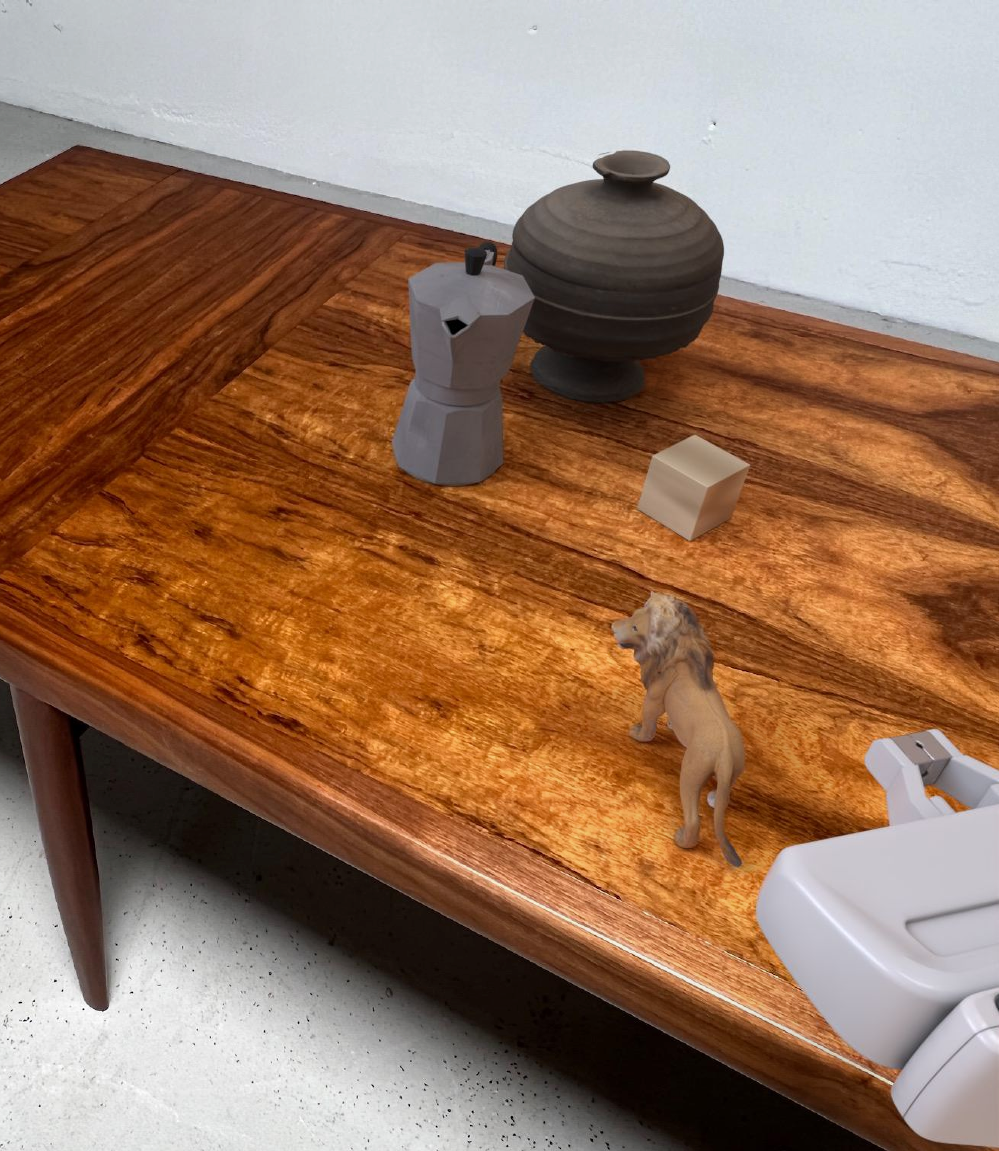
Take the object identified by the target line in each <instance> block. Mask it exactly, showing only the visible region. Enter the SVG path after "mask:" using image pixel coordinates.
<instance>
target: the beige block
mask: <svg viewBox="0 0 999 1151" xmlns="http://www.w3.org/2000/svg"><path fill="white" fill-rule="evenodd" d="M750 467H751V464H750V463H748V462H746V461H744V460H743V459H741V458H739V457H737V456H735V455H733V454H731V453H730V452H728V451H726V450H724V449H723V448H721V447H718V445H717V446H716V445H715V444H713V443H711V442H710V441H708V440H706V439H704V438H702V437H700V436H698V435H697V434H693V435H691V436H689V437H687V438H685V439H683V440H681V441H679V442H676V443H675V444H673V445H671V446H669V447H667V448H665V449H663V450H661V451H659V452H657V453H655V454H653V455H651V458H650V462H649V465H648V470H647V473H646V477H645V480H644V482H643V483H644V484H643V487H642V491H641V493H640V497H639V501H638V504H637V507H636V509H637V510H638V511H640V512H641V513H643V514H645V515H647V516H648V517H650V518H651V519H653V520H655V521H656V522H658V523H660V524H661V525H663V526H665V527H666V528H668V529H669V530H670V531H672V532H674V533H676V534H677V535H678V536H681V537H682V538H684V539H685V540H687V541H689V542H691V541H693V540H695V539H697V538H699V537H700V536H703V535H704V534H706V533H707V532H709V531H711V530H713V529H715V528H717V527H718V526H721V525H722V524H724V523H726V522H727V521H729V520H731V519H732V518H733V515H734V513H735V510H736V507H737V504H738V501H739V498H740V495H741V493H742V490H743V487H744V484H745V482H746V479H747V477H748V474H749V471H750Z"/></svg>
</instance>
